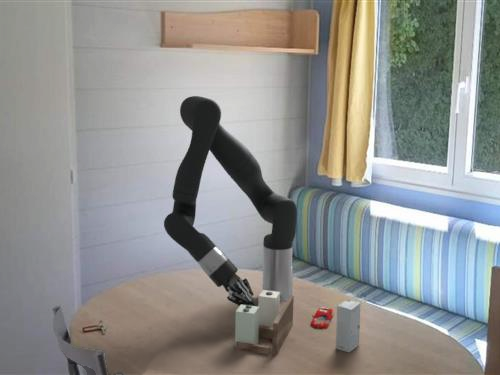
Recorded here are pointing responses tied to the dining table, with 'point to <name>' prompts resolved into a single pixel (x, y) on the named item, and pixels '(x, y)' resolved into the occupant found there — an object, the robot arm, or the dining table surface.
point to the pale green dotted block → (247, 324)
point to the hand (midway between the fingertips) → (258, 312)
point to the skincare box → (348, 325)
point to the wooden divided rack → (273, 331)
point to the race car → (322, 318)
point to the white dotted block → (268, 307)
